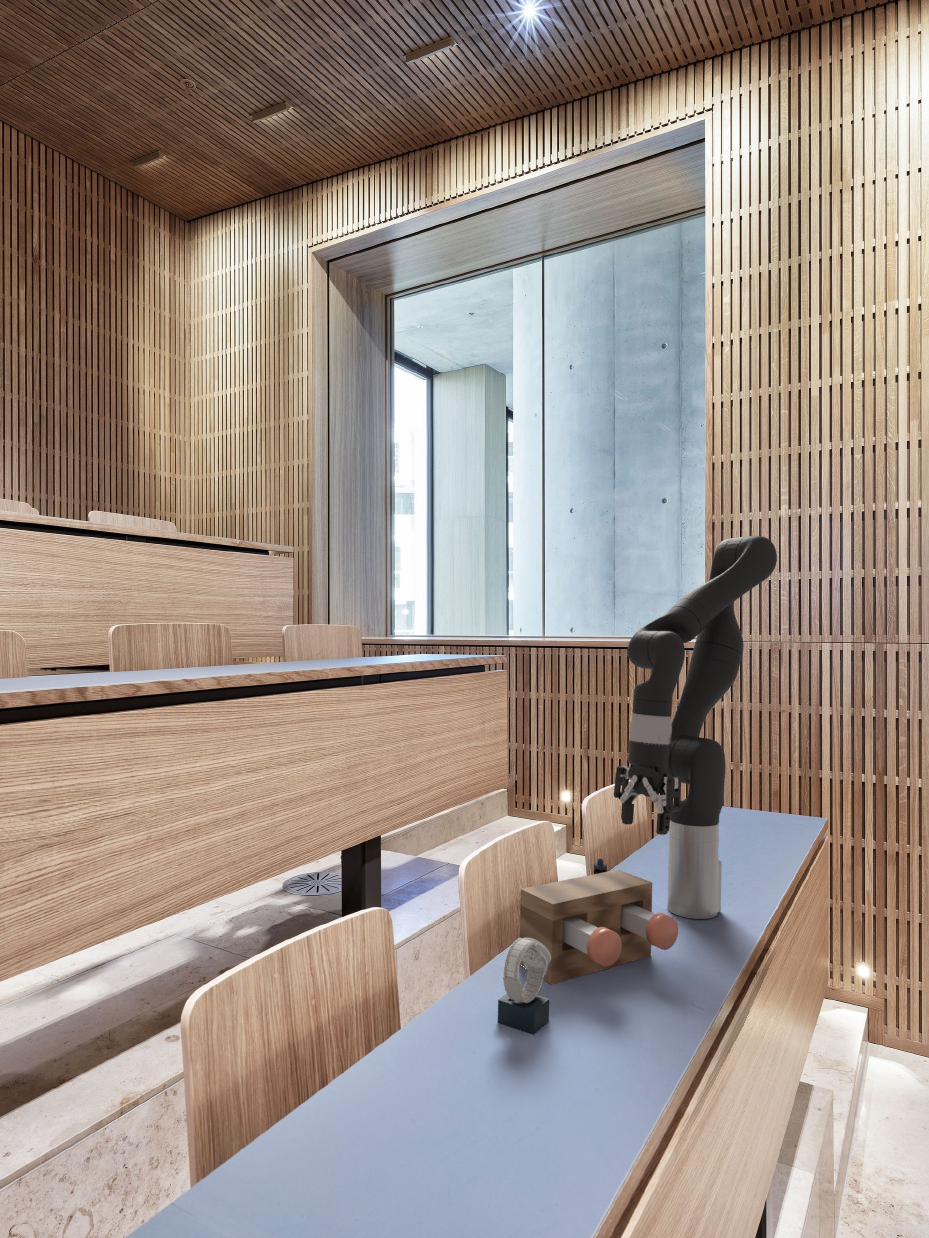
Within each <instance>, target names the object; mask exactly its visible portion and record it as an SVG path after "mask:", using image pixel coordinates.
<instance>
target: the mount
mask: <svg viewBox="0 0 929 1238" xmlns="http://www.w3.org/2000/svg"><path fill="white" fill-rule="evenodd" d="M627 903H631V904H633V905H635V906H638V907H640V908H642V909H645V910H647V911H650V912H652V913H653V882H652V881H649V880H647V879H644V878H641V877H639V876H636V875H633V874H631V873H628V872H626V871H623V870H620V869H613V870H610V871H608V870H607V872H603V873H598V874H594V873H593V874H589V875H584V876H580V877H579V876H578V877H575V878H569V879H565V880H559V881H553V882H549V883H548V882H547V883H544V884H539V885H533V886H529V887H523V888H520V903H519V905H520V906H519V908H520V909H519V910H520V911H519V938H525V937H527V938H532V939H535V940H537V941H539V942H540V943H542V944H543V945H544V946H545V947H546V948H547V949H548V951H549V952H550V955H551V961H550V962H549V965H548V969H547V973H546V975H544V978H543V981H545V980H546V981H547V982H546V981H545V982H546V983H547V984H549V985H554V984H558V983H562V982H565V981H568V980H571V979H575V978H579V977H582V976H586V975H589V974H593V973H596V972H598V971H599V972H600V971H603V970H607V969H610V968H614V967H616V966H620V964H621V965H623V964H627V962H628V963H631V962H633V961H634V960H635V961H639V960H641V959H645V958H648V957H651V956H652V945H651V944H650V943H649V942H648V940H647V939H646V938H644V937H641V936H639V935H637V934H635V933H633V932H630V931H628V930H626V929H624V928H622V927H620V924H621V905H623V904H627ZM571 916H575V917H577V918H579V919H581V920H583V921H585V922H587V923H589V924H591V925H594V926H596V927H598V928H599V927H605V928H608V929H610V930H612V931H614V932H616V933H617V934H618V935H619V936H620V938H621V942H622V948H621V953H620V955H619V958H618V959H617V961H616V962H615V963H614V964H612V965H611V966H608V967H605V966H602V965H600V964H598V963H596V962H594V961H593V960H591V959H590V958H589V956H588V954H586V953H584V952H582V951H580V950H578V949H576V948H575V947H573V946H571V945H569V944H567V943H565V942H563V941H562V931H563V918H567V917H571ZM630 961H631V962H630ZM520 965H522V966H524V963H523V962H522V961H521V963H520ZM522 966H521V967H522ZM524 967H525V966H524ZM528 970H529V969H528ZM528 970H527V971H528Z"/></svg>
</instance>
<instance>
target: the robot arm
mask: <svg viewBox="0 0 929 1238" xmlns="http://www.w3.org/2000/svg"><path fill="white" fill-rule="evenodd" d="M777 554H778V553H777V549H776V547H775V545H774V542H772V541H771V539H769V538H767V537H765V536H759V535H750V536H740V537H739V536H738V537H731V538H726V539H724V540H721V542H720V543H719V544H718V545H717V547H716V548H715V550H714V554H713V557H712V561H711V567H710V571H709V573H710V574H709V581H706V582H705V583H703V584H701V585H699V586H697V587H695V588H693V589H692V590H691V591H689V592H688V593H686V594H685V595H684V596H683V597H681V598H680V599H679V600H678V601H677V602H676V603H675V604H674V605H673V606H672V607H671V608H670V609H669V610H668V611H667V612H666V613H665V614H663V615H661V616H659V617H658V618H655V619H654V620H652V621H651V622H648V623H647V624H646V625H644V626H643V627H641V628H640V629H638V630H637V631H636V632H635V633H634V634H633V635H632V637H631V638H630V641H629V643H628V646H627V656H628V657H627V658H628V659H629V661H630V662H631V664H633V665H634V666H635V667H637V668H641V669H646V670H647V669H649V670H650V669H651V670H652V671H651V674H650V676H649V678H648V680H646V681H641V682H638V683H636V685H635V686H634V689H633V697H632V698H633V699H632V712H631V713H632V714H631V719H630V723H629V737H628V738H629V739H628V750H627V751H628V752H627V762H628V764H629V765H630V766H628V765H627V766H626V765H621V766H618V765H617V766H616V771H615V779H614V789H613V798H616V799H619V800H620V803H621V811H620V813H621V814H620V819H621V823H622V824H624V825H626V826H627V825H632V824H633V823H634V813H635V812H634V811H635V803H634V801H635V800H636V799H637V797H638V796H640V795H643V796H645V797H649V798H650V800H651V802H652V803H654V805H655V807H656V809H657V814H656V815H657V816H656V834H657V835H660V836H661V835H663V836H664V835H667V834H668V859H667V860H668V863H667V864H668V867H667V872H668V873H667V878H668V879H667V910H668V911H669V912H670V913H672V914H674V915H676V916H679V917H684V918H686V919H687V918H688V919H693V920H694V919H695V920H707V919H708V920H709V919H712V918H715V917H717V916H718V913H719V912H721V911H722V873H723V872H722V868H723V867H722V865H723V864H722V861H721V860H719V856H720V855H719V847H720V846H719V845H720V843H719V842H720V815H721V812H722V809H723V805H724V797H725V796H724V795H725V783H726V782H725V781H726V780H725V779H726V755H725V752H724V748H723V746H722V745H721V744H720V743H719V742H718V741H717V740H714V739H711V738H706V737H700V735H701V731H702V727H703V725H704V722H705V720H706V719H707V717H708V714H709V713H710V711H712V709H713V708H714V707H715V705H716V704H717V703H718V702H719V701H720V700H721V699H722V697H724V695H725V694H726V693H727V692H728V691H729V689H730V688H731V687H732V685H734V683H735V681H736V679H737V676H738V673H739V670H740V667H741V661H742V658H743V653H744V649H745V648H744V639H743V635H742V631H741V629H740V628H741V627H740V626H739V623H738V620H737V618H736V617H737V616H736V613H735V602H736V601H737V600H738V599H739V598H741V597H742V596H744V595H745V594H747V593H748V592H750V591H751V590H752V589H754V588H755V587H757V586H758V585H760V584H761V583H763V582H765V580H767V579H768V578H769V577H770V576H771V575H772V574H773V572H774V570H776V569H775V568H776V566H777V561H778V555H777ZM695 638H696V640H695V642H694V646H693V650H692V654H691V657H690V661H689V667H688V671H687V674H686V678H685V683H684V685H683V689H682V692H681V696H680V699H679V702H678V704H677V708H676V711H675V712H674V713H675V714H674V716H673V719H672V715H673V713H672V710H673V696H674V692H675V689H676V686H677V683H678V681H679V678H680V677H679V676H680V674H681V672H682V668H683V666H684V663H685V654H686V649H685V645H684V643H685V644H686V643H689V642H691V641H692V640H694V639H695ZM682 784H685V785H688V794H687V797H686V798H685V799H683V800H682Z"/></svg>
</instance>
